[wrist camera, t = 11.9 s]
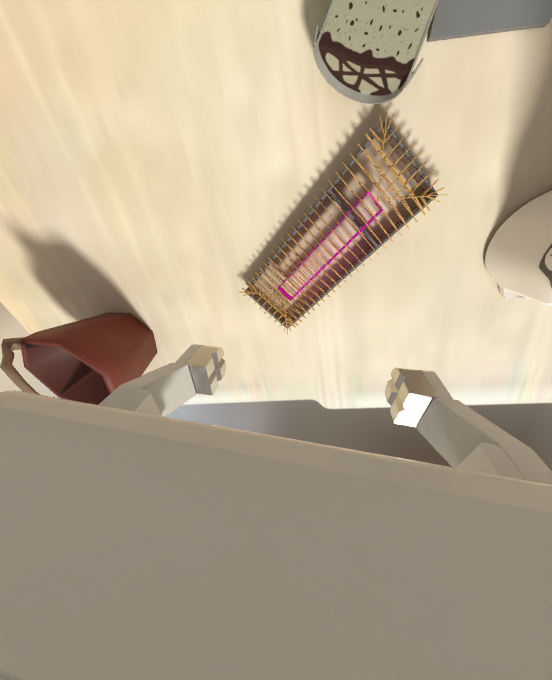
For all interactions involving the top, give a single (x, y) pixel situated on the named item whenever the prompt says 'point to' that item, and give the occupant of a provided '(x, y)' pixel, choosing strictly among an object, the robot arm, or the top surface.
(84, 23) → the top surface
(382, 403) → the top surface
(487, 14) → the mat
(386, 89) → the food container
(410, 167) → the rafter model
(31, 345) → the bucket
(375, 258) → the top surface
